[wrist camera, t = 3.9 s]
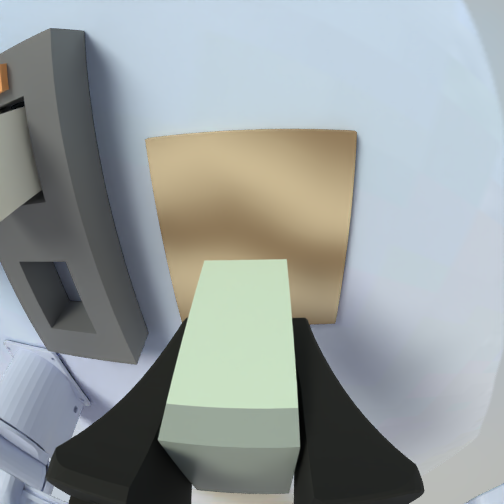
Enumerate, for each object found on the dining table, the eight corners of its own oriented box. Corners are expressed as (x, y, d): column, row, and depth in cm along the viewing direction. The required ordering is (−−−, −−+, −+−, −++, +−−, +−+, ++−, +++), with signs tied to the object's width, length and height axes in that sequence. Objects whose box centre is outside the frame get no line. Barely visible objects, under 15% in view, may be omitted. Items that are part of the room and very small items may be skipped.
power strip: (148, 332, 22) (134, 370, 19) (63, 324, 22) (45, 355, 19) (84, 30, 11) (43, 27, 8) (-13, 75, 11) (-51, 85, 8)
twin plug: (66, 173, 15) (-13, 233, 9) (31, 179, 15) (-45, 236, 10) (53, 98, 13) (-42, 130, 7) (17, 111, 13) (-70, 148, 7)
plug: (284, 343, 14) (288, 493, 8) (218, 342, 14) (197, 489, 8) (286, 258, 11) (300, 447, 5) (204, 260, 12) (157, 440, 6)
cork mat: (334, 319, 20) (335, 323, 20) (183, 319, 21) (182, 324, 20) (354, 130, 14) (356, 132, 13) (147, 138, 14) (145, 139, 14)
